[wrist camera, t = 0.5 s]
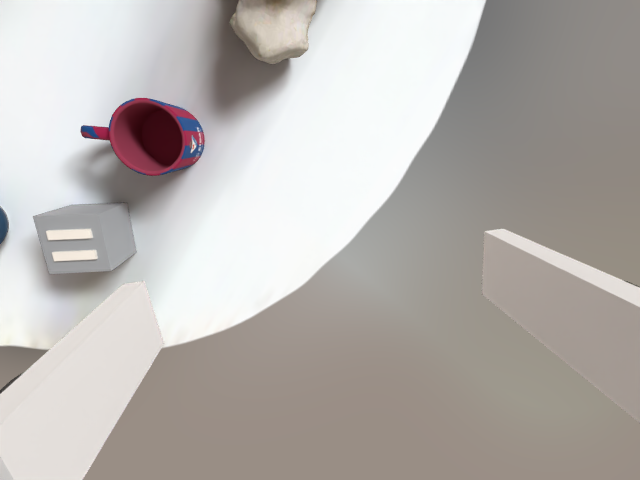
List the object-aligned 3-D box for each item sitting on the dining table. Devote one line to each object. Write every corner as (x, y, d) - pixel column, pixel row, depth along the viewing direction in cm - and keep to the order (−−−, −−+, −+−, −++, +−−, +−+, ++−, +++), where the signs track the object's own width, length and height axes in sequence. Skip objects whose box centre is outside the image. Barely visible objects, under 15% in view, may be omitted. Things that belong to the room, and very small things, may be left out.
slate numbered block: (72, 204, 37) (30, 217, 31) (127, 202, 38) (96, 214, 32) (84, 254, 39) (47, 275, 33) (137, 251, 39) (109, 272, 33)
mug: (201, 174, 37) (182, 182, 31) (107, 156, 36) (67, 159, 29) (208, 113, 36) (190, 107, 29) (110, 91, 34) (67, 80, 28)
